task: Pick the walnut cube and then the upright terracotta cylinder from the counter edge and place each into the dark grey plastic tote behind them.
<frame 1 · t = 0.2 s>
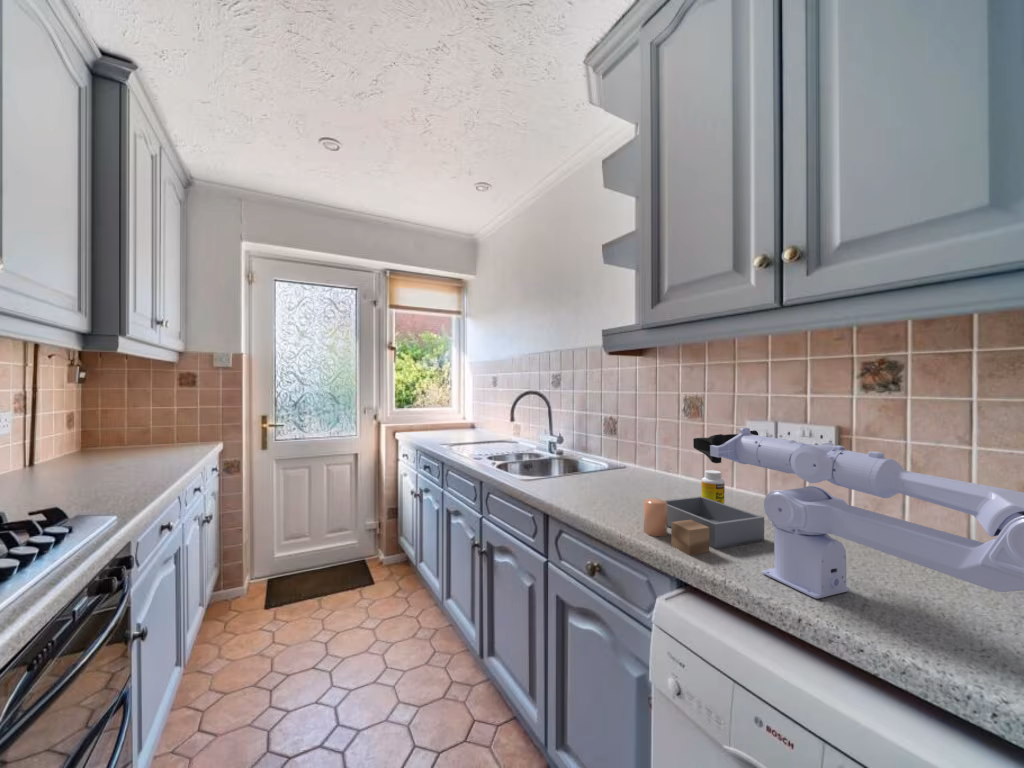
hand: (708, 441, 88), 21 cm above the worktop, tool horizontal, fingers open, 7 cm apart
terracotta cylinder: (655, 532, 93), on the worktop
tote: (707, 530, 94), on the worktop
supplement bottle: (712, 510, 110), on the worktop
walnut block: (690, 549, 83), on the worktop
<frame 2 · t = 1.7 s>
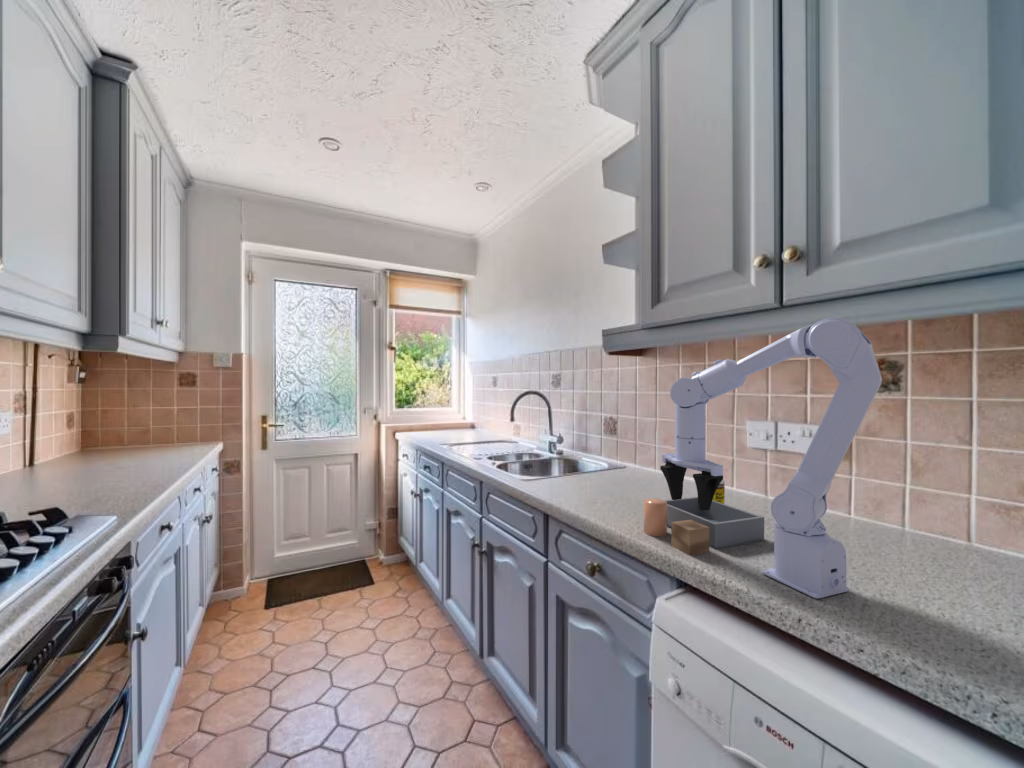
hand: (689, 504, 83), 9 cm above the worktop, tool pointing down, fingers open, 7 cm apart
nothing on the worktop moved.
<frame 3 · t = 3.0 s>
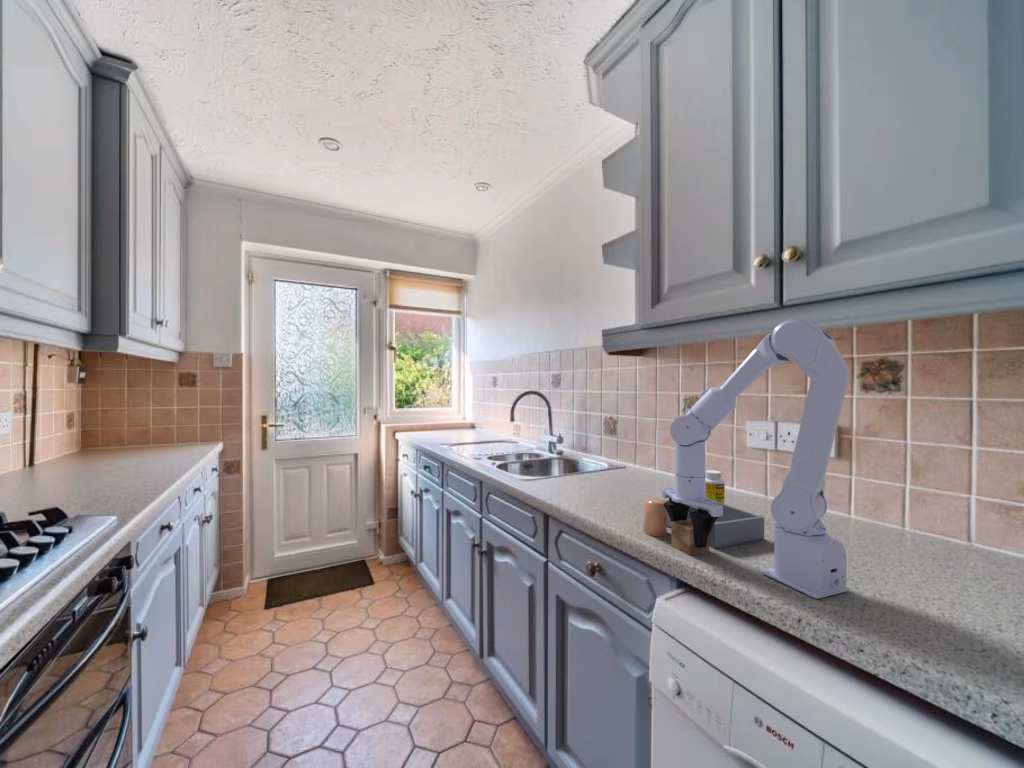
hand: (690, 541, 83), 1 cm above the worktop, tool pointing down, fingers closed on walnut block, 5 cm apart
walnut block: (689, 548, 83), on the worktop, touching gripper
everything else where it was.
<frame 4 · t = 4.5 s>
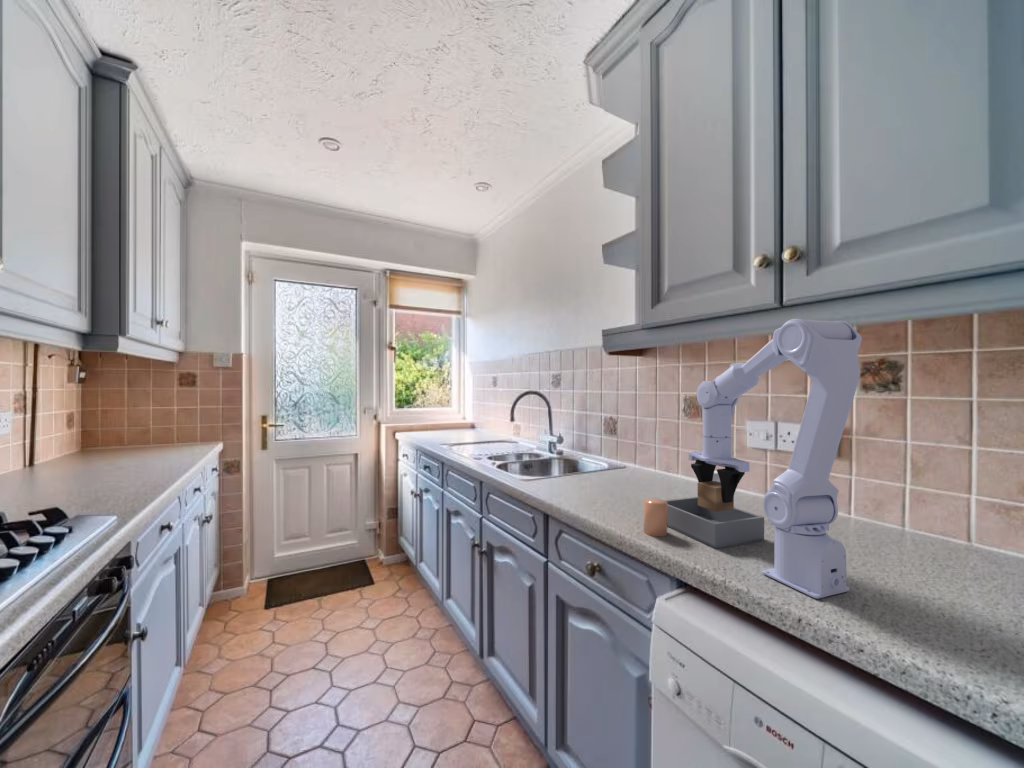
hand: (716, 498, 90), 8 cm above the worktop, tool pointing down, fingers closed on walnut block, 5 cm apart
walnut block: (715, 507, 90), point 7 cm above the worktop, touching gripper
everything else where it was.
when the fingers open (4 cm above the worktop, at t = 6.1 s): walnut block drops 1 cm, resting on tote.
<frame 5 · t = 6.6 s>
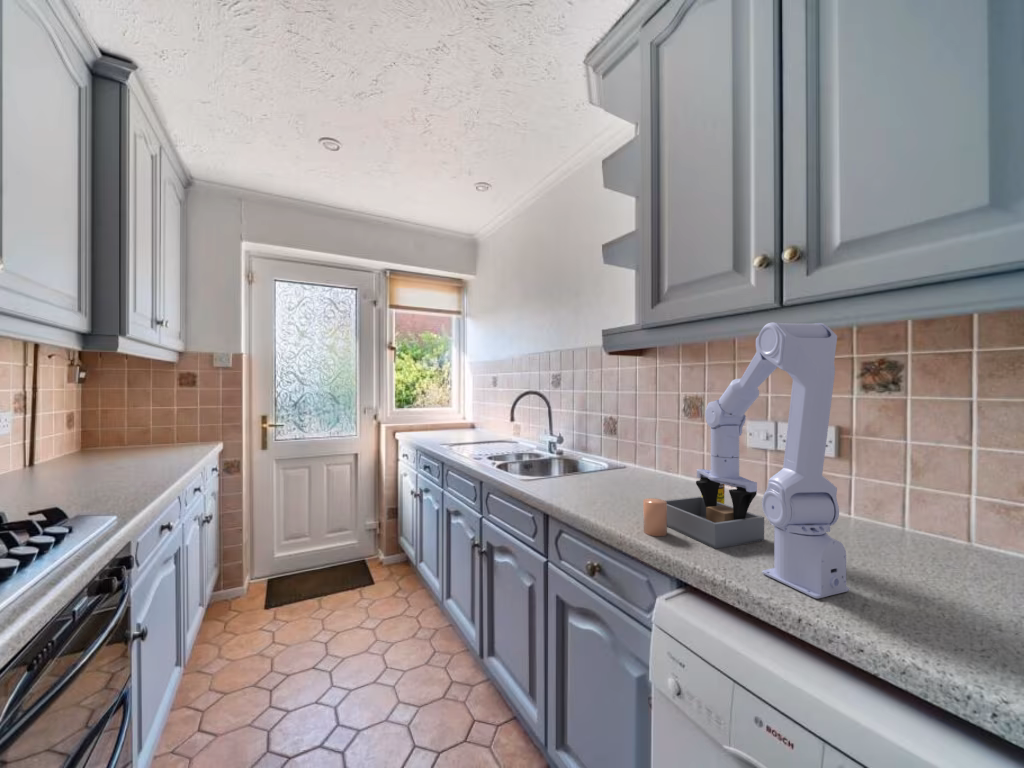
hand: (724, 516, 92), 4 cm above the worktop, tool pointing down, fingers open, 7 cm apart
walnut block: (723, 531, 91), point 1 cm above the worktop, touching tote
everything else where it was.
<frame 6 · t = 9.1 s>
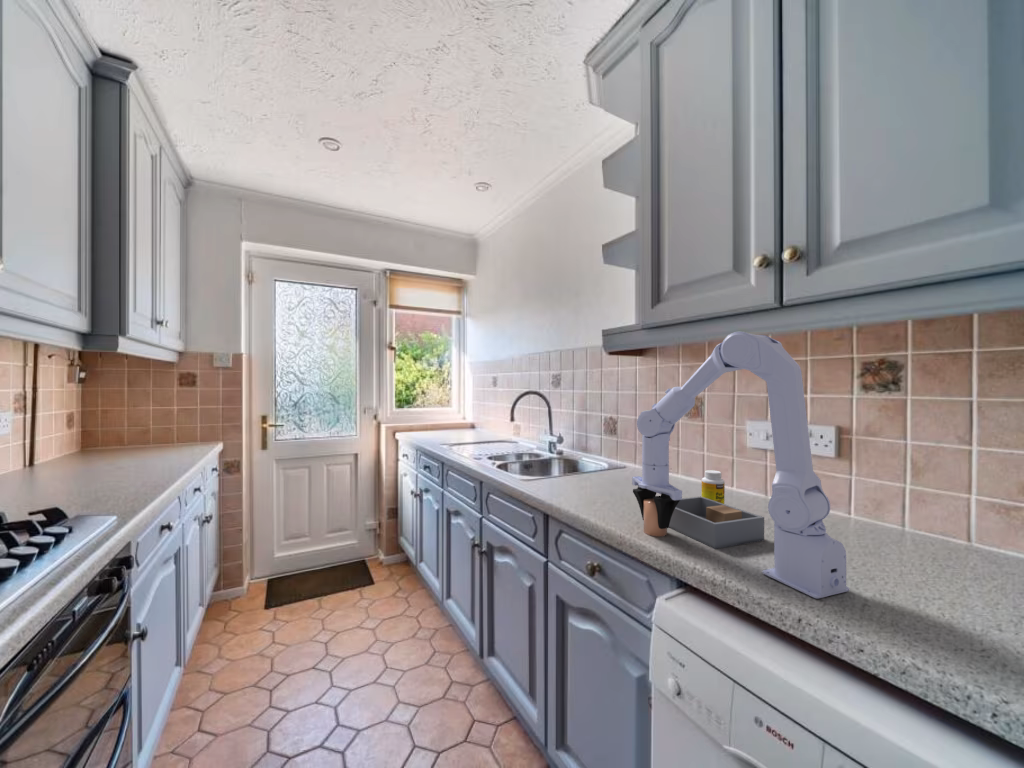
hand: (655, 523, 93), 2 cm above the worktop, tool pointing down, fingers closed on terracotta cylinder, 5 cm apart
terracotta cylinder: (655, 532, 93), on the worktop, touching gripper
everything else where it was.
when the fingers open (5 cm above the worktop, at t = 12.3 s): terracotta cylinder drops 2 cm, resting on tote.
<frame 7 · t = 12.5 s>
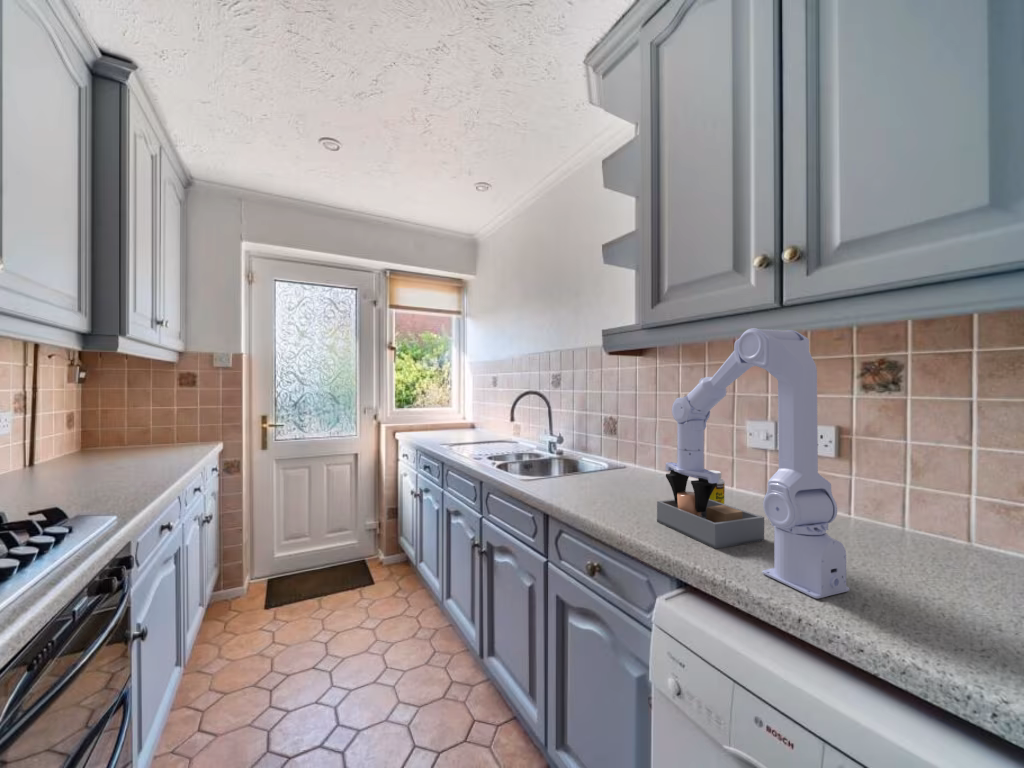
hand: (690, 507, 96), 5 cm above the worktop, tool pointing down, fingers open, 6 cm apart
terracotta cylinder: (690, 524, 96), point 1 cm above the worktop, touching tote
walnut block: (724, 531, 91), point 1 cm above the worktop, touching gripper, tote
everything else where it was.
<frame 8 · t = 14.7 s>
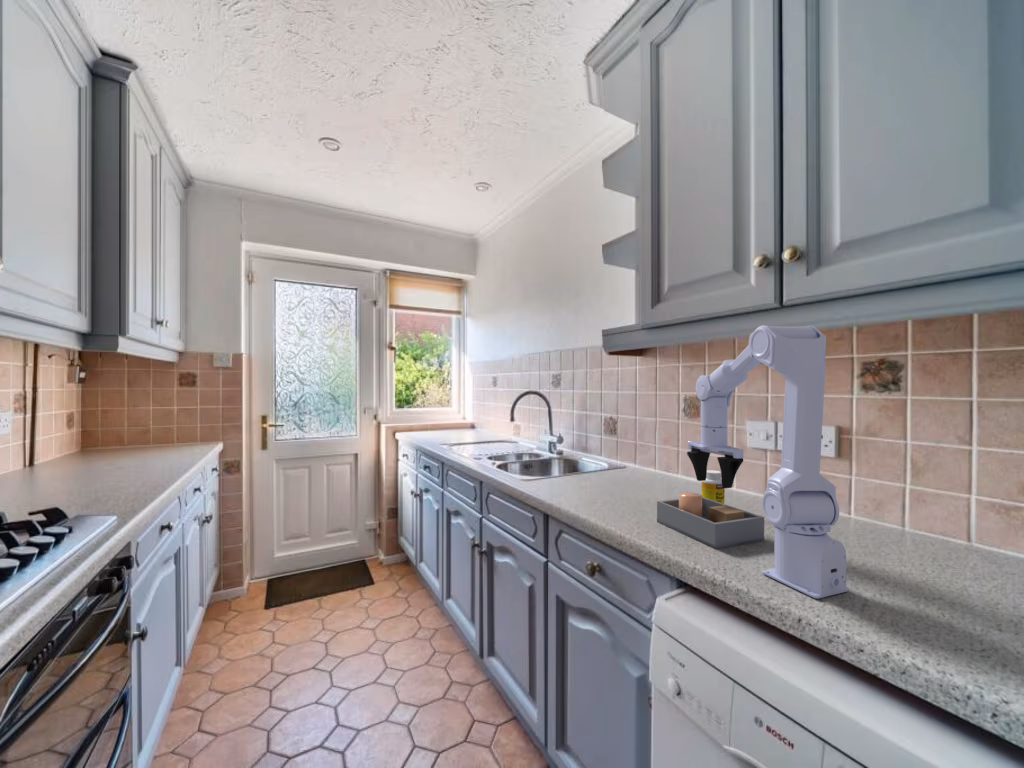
hand: (713, 484, 97), 10 cm above the worktop, tool pointing down, fingers open, 7 cm apart
walnut block: (726, 531, 91), point 1 cm above the worktop, touching tote
everything else where it was.
at the end: walnut block inside the target area on the tote (3.9 cm from its centre), point 0.6 cm above the tote's base; terracotta cylinder inside the target area on the tote (3.7 cm from its centre), point 0.6 cm above the tote's base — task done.
